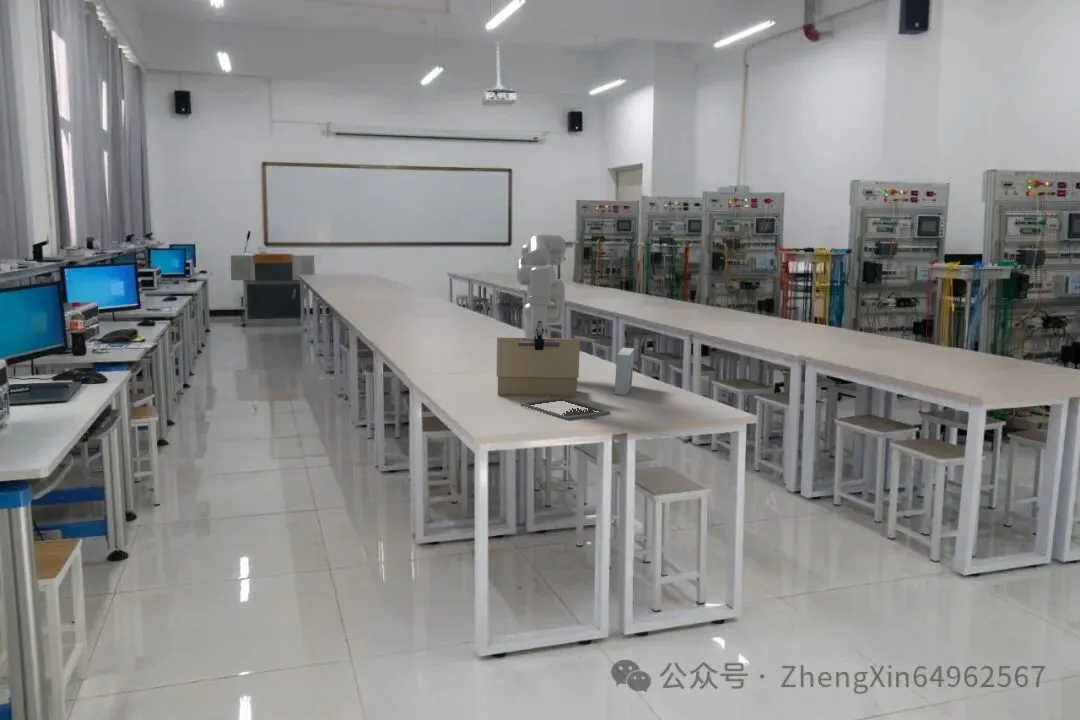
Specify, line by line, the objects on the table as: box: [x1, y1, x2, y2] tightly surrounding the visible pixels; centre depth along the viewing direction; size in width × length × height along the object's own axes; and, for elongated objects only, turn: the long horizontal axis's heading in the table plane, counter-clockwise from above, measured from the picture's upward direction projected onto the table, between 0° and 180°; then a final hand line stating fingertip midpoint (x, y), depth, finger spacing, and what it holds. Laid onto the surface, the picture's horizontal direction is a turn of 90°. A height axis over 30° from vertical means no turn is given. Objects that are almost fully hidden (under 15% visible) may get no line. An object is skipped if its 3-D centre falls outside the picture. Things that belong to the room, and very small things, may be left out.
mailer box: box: [497, 376, 578, 398], centre depth 332 cm, size 14×30×8 cm, turn 91°
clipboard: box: [520, 397, 611, 421], centre depth 302 cm, size 19×2×30 cm
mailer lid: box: [496, 336, 581, 379], centre depth 318 cm, size 15×31×9 cm
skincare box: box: [613, 347, 635, 396], centre depth 341 cm, size 21×6×16 cm, turn 168°
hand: (538, 348), depth 313 cm, fingers open, 9 cm apart
